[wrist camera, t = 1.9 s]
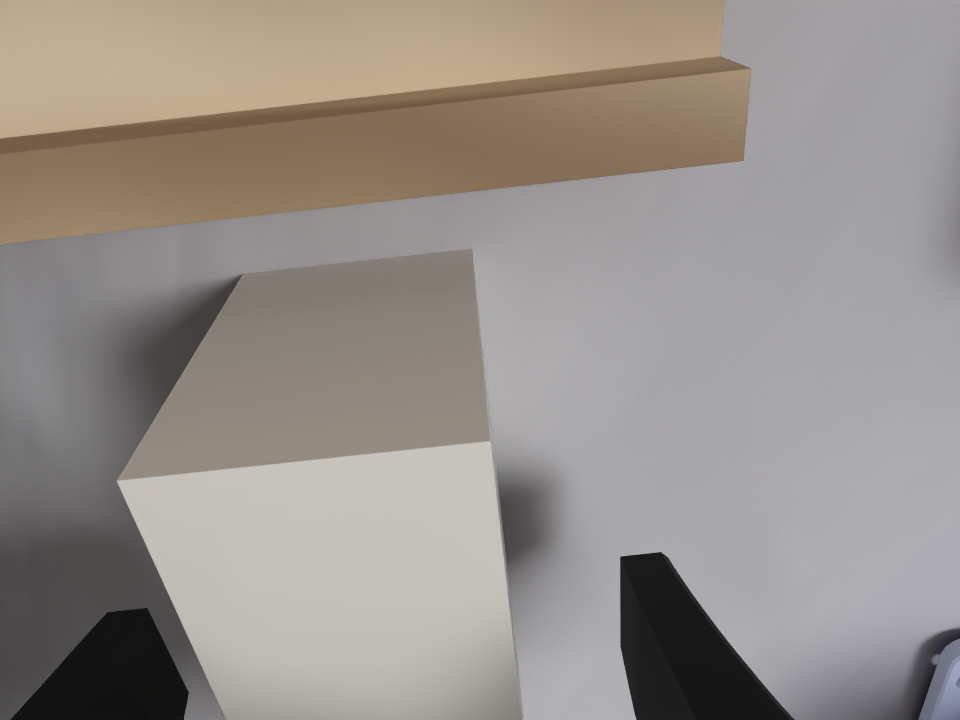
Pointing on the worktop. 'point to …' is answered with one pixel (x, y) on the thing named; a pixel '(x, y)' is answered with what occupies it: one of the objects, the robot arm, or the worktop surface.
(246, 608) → the white rectangular block
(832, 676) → the worktop surface
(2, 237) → the wooden base plate
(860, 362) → the worktop surface
